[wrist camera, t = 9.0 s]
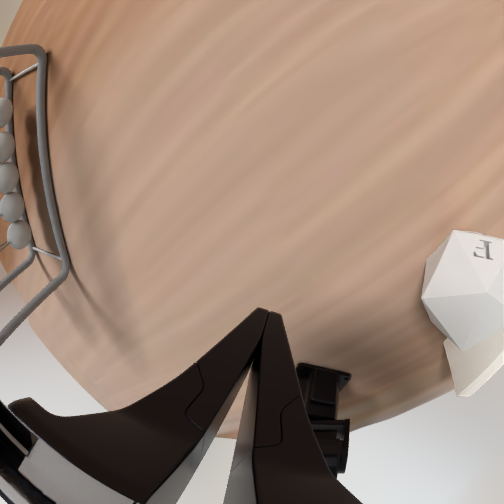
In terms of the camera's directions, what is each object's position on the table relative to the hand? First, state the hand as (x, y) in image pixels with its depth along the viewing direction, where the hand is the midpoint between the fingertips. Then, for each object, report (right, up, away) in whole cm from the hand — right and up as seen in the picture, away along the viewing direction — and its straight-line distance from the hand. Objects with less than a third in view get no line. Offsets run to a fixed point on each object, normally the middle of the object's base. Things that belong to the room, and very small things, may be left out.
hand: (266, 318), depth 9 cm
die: (+16, +2, +9) cm, 19 cm away
